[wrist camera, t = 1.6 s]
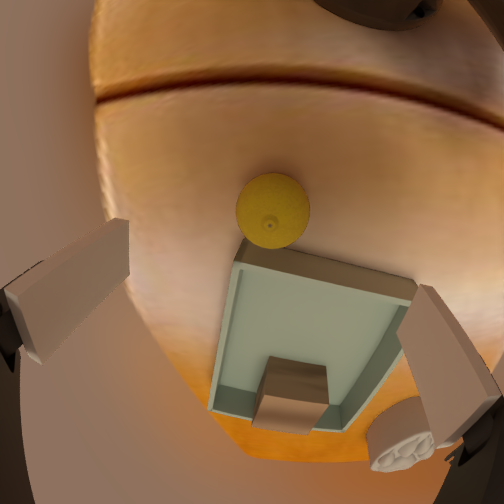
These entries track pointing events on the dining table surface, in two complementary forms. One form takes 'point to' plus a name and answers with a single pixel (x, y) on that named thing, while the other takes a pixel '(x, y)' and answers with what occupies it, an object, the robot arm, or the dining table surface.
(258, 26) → the dining table surface
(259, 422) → the walnut block
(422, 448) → the lumpy-topped squat cylinder
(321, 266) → the box
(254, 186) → the lemon
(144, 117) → the dining table surface
